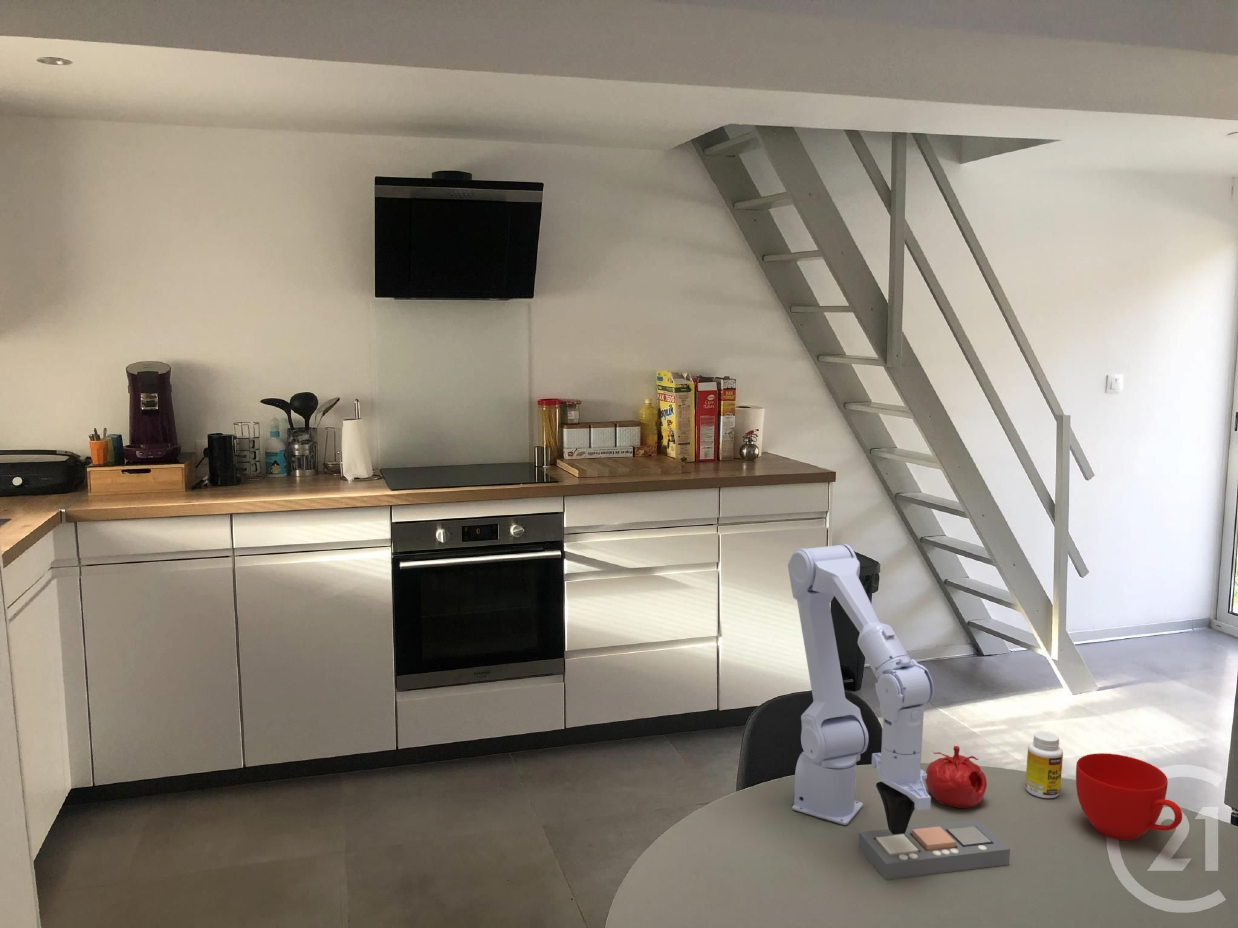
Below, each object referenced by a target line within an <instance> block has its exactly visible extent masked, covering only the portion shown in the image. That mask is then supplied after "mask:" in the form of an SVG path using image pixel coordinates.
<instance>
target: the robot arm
mask: <svg viewBox="0 0 1238 928" xmlns="http://www.w3.org/2000/svg"><path fill="white" fill-rule="evenodd" d="M787 569H788V574H789V581H790V587H791V592H792V598H793V599H794V600H796V603H797V609H798V614H799V620H800V626H801V633H802V639H803V646H804V651H805V657H806V663H807V670H808V675H809V680H810V688H811V694H812V698H813V699H812V700H813V702H812V703H811V704H810V705H809V707H807V709H806V710H805V711H803V713H802V714H801V715H800V720H801V734H800V742H801V748H802V749H803V751H802V752H801V753H800V754H799V757H798V758H797V762H796V766H795V771H794V772H795V773H794V799H793V802H794V803H793V805H792V806H791V807H792V810H793V811H797V812H800V813H803V814H806V815H810V816H813V817H816V818H819V819H823V820H826V821H830V822H834V823H836V824H840V825H844V826H847V825H849V823H850V822H851V821H852V820H853V818H854V817H855V816H856V815H857V814H858V812H859V811H860V810H861V808H863V807H864V805H863V803H862V801H861V802H860V801H857V800H856V798H855V796H856V775H857V774H856V773H857V762H859V761H861V754H863V753H865V752H866V751H867V749H868V746H869V738H870V737H869V732H868V728H867V727H866V724H865V722H864V720H863V716H862V712H861V709H860V707H858V706H857V705H856V704H854V703H853V702H851V701H850V700H849V699H847V698H846V694H845V687H844V686H845V685H844V682H843V681H844V680H843V675H842V670H841V664H840V663H841V662H840V657H839V652H838V645H837V640H836V634H835V628H834V623H833V617H832V612H831V602H832V601H833V599H834V597H835V599H836V600H837V601H838V603H839V604H840V606H841V607H842V610H844V612H845V613H846V615H847V616H848V618H849V619H850V620H851V622H852V623H853V625H854V626H855V628H856V630H857V631H858V632H859V635H858V637H857V645H858V647H859V649H860V651H861V652H862V655H864V658H865V660H866V661H867V663H868V665H869V667H870V668H871V671H872V672H873V674H874V676H875V677H876V679H877V682H875V693H876V695H877V699H878V702H879V712H880V716H881V717H882V729H881V731H882V732H881V750H880V751H881V752H874V753H872V754H871V766H872V767H873V768H875V769H876V770H877V775H878V778H879V780H880V781H878V782H876V784H875V785H876V786H875V787H876V789H877V791H878V793H879V795H880V798H881V801H882V804H883V808H884V812H885V819H886V823H887V827H888V828H887V829H889V831H890V832H891V833H892V834H903V833H905V832H906V829H907V827H909V823H910V821H911V818H912V815H913V813H914V811H915V810H916V811H926V810H931V803H932V802H931V800H932V797H931V795H929V792H928V791H927V789H926V786H925V784H924V780H925V779H926V778H927V774H926V771H924V770H923V769H921V766H922V752H923V751H922V749H923V735H924V734H923V731H924V716H925V715H924V714H925V713H924V711H925V705H926V704H929V703H930V702H931V701H932V700H933V697H934V694H935V686H934V681H933V679H932V676H931V674H930V672H929V669H928V668H926V667H925V666H924V665H922V664H919V663H918V662H917V661H916V660H915V659H914V658H911V657H910V656H909V654H908V653H907V651H906V649H905V648H904V646H903V644H902V643H901V641H900V639H899V638H898V636H897V634H896V632H895V631H894V629H893V627H892V626H891V625H889V624H886V623H882V622H880V620H879V619H880V618H879V617H878V615H877V613H876V612H875V608H874V607H873V605H872V603H871V600H870V598H869V597H868V595H867V593H866V590H865V588H864V586H863V584H862V582H861V580H860V574H861V573H860V571H861V563H860V561H859V560H858V558H857V555H856V553H855V551H854V549H853V548H852V547H851V546H850V545H849V544H848V543H847V544H846V543H839V544H838V545H827V546H820V547H819V546H818V547H810V548H809V547H808V548H803V547H802V548H796V549H795V550H794V551H793V552H792V555H791V557H790V559H789V561H788V564H787ZM828 719H829V720H828Z"/></svg>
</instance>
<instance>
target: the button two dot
mask: <svg viewBox="0 0 1238 928" xmlns="http://www.w3.org/2000/svg"><path fill="white" fill-rule="evenodd" d="M876 842H877V843H878V844H879V845H880V846H881V847H882V848H883V850H884V851H885V852H886V853H887V854H888V855H889V856H891V855H900V854H908V853H917V852H919V850H918V849H917V848H916V847H915V846H914V845H913V844H912V843H911V842H910V840H909V839H908V838H907V837H906V836H905V835H904V834H902V835H893V836H884V837H876Z"/></svg>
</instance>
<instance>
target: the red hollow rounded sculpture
mask: <svg viewBox="0 0 1238 928" xmlns="http://www.w3.org/2000/svg"><path fill="white" fill-rule="evenodd" d="M960 750H961V749H960V746H959V745H954V746H953V756H950V755H948V754H943V753H942V752H934V751H932V752H933V754H934V755H937V754H938V755H941V756H944V757H939V758H938V759H935V760H934V761H931V762H930V763H929V764H928V765H927V767H926V770H925V773H926V774H927V778H926V779H924V780H925V781H924V782H925V784H926V787H927V790H928V791H929V792H928V793H930V794H931V796H932V797H933V798H934V799H935V800H936V801H937V802H939V803H940V804H943V805H944V806H949V807H953V808H959V809H961V808H962V809H964V808H972V807H976V806H977V805H978V804H979V803H981V801H982V800H983V798H984V796H985V793H986V790H987V785H988V783H987V777H986V774H985V773H984V771H983V770H982V769H981V767H980V766H979V764H976V763H974V762H973V761H972V760H970V759H974V760H975V761H978V760H979V759H980V758H977V757H975V756H973V755H971V756H967V757H966V756H964V755H960Z"/></svg>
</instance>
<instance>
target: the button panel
mask: <svg viewBox="0 0 1238 928" xmlns="http://www.w3.org/2000/svg"><path fill="white" fill-rule="evenodd" d="M939 826H940V827H941V828H942V829H943V830H944V831H945V832H946V833H947V834H948V835H949V836H950V837H951V838H952V839H953V840H954V841H955V842H956V843H955V848H951V849H943V850H934V851H925V850H924V848H923V847H922V846H921V845H920V844H919V843H918V842H917V841H916V840H915V839H914V838H913V837H912V829H921V828H930V827H939ZM973 826H975V827H976V828H977V829H978V830H979V831H980V832H981V833H983V834H984V835H985V836H986V837H987V838H988V839H989V840H990V841H991V844H985V845H977V846H968V847H962V846H961V845H960V844H959V843H958V842H957V841H956V840H955V839H954V838H953V837H952V836H951V835H950V834H949V833H948V829H955V828H964V827H973ZM903 834H904V835H905V836H906V837H907V838H908V839H909V840H910V842H911V843H912V844H913V845H914V846H915V847H916V848H917V849H918V850H919V852H917V853H908V854H900V855H891V856H889V855H888V854H887V853H886V852H885V851H884V850H883V848H882V847H881V846H880V845H879V844H878V843H877V842H876V837H884V836H893V835H902V834H892V833H891V832H890V831H889V828H887V829H886V828H884V829H877V830H865V831H859V832H858V845H857V846H858V849H859V850H860V851H861V852H862V854H863V855H864V856H865V858H867V860H868V861H869V862H870V863H871V864H872V865H873V866H874V868H875V869H876V870H877V871H878V873H879V874H880V875H881V876H882V878H883V879H884V880H886V881H887V880H893V879H901V878H902V879H903V878H909V877H911V878H912V877H919V876H925V875H926V876H927V875H933V874H934V875H935V874H942V873H950V872H953V873H954V872H958V871H959V872H960V871H966V870H967V871H969V870H975V869H983V868H984V869H985V868H991V867H992V868H993V867H1002V866H1008V865H1010V858H1011V857H1010V856H1011V849H1010V847H1008V846H1007V845H1006V844H1005V843H1004V842H1003V841H1002V840H1000V838H998V837H997V836H996V835H995V834H994V833H993V832H992V831H991V830H990V829H989V828H988V827H986V826H985V825H984V824H983V823H982V822H981V821H979V820H978V819H977V818H976V819H974V818H973V819H966V820H959V821H958V820H956V821H947V822H937V823H930V824H920V825H913V826H908V827H907V829H906V832H905V833H903Z"/></svg>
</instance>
